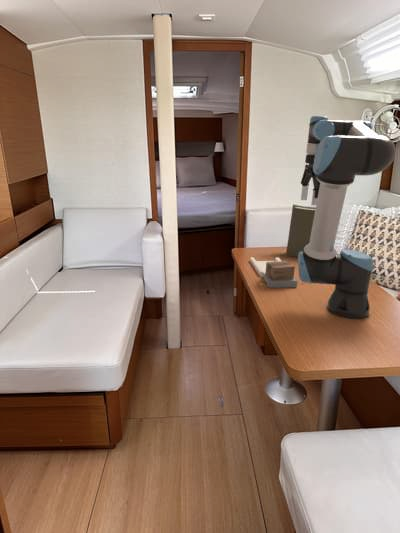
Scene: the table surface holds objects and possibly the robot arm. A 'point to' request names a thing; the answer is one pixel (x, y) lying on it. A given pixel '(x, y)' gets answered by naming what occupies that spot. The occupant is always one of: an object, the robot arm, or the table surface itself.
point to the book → (300, 229)
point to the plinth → (280, 282)
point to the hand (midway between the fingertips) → (308, 202)
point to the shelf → (261, 265)
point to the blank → (279, 270)
